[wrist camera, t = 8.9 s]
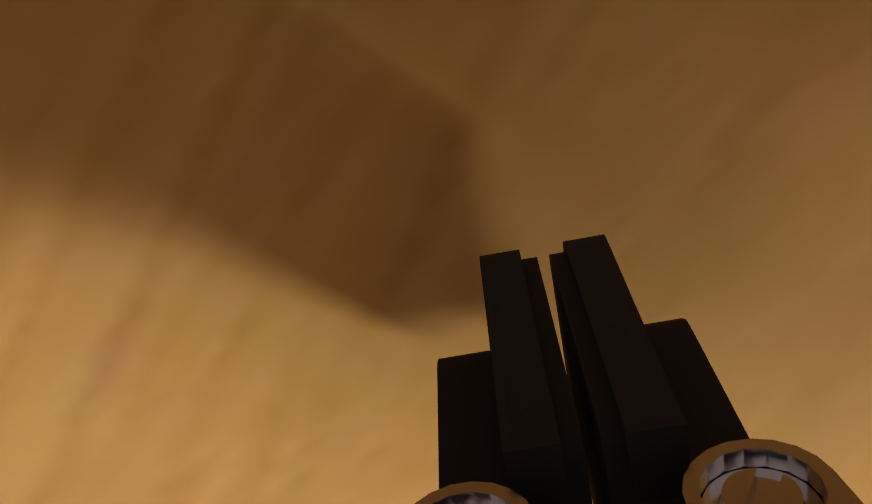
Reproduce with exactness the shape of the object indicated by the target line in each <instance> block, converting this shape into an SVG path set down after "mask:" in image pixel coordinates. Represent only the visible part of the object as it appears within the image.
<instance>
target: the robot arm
mask: <svg viewBox="0 0 872 504" xmlns="http://www.w3.org/2000/svg"><path fill="white" fill-rule="evenodd" d="M563 250H564V252H562V253H557V254H551V255H549V258H550V266H551V273H552V279H553V286H554V292H555V299H556V306H557V312H558V319H559V325H560V332H561V339H562V345H563V352H564V358H565V365H566V370H565V366H564V363H563V359H562V355H561V351H560V347H559V343H558V339H557V335H556V331H555V327H554V323H553V319H552V315H551V311H550V307H549V303H548V299H547V295H546V291H545V287H544V283H543V280H542V276H541V272H540V268H539V264H538V260H537V257H534V258H528V259H523V260H521V256H520V252H519V250H513V251H507V252H502V253H496V254H490V255H485V256H479V257H480V266H481V274H482V283H483V291H484V300H485V308H486V317H487V325H488V334H489V342H490V351H484V352H478V353H472V354H466V355H460V356H454V357H448V358H442V359H439V360H438V364H437V380H438V446H439V490H436V491H433V492H431V493H429V494H428V495H426V496H425V497H423V498H422V499H421V500H419V501H418V502H416V503H415V504H864V503H863V502H862V501H861V500H860V499H859V498H858V497H857V496H856V494H855V493H854V492H853V491H852V490H851V489H850V488H849V487H848V485H847V484H846V483H845V482H844V481H843V480H842V479H841V478H840V476H839V475H838V474H837V473H836V472H835V471H834V470H833V469H832V468H831V467H830V466H828V465H827V464H826V463H825V462H824V461H822V460H821V459H820V458H819V457H818V456H816V455H814V454H812V453H810V452H808V451H806V450H804V449H802V448H800V447H797V446H795V445H791V444H787V443H783V442H779V441H775V440H766V439H749V437H748V435H747V433H746V431H745V429H744V427H743V425H742V423H741V421H740V420H739V418H738V416H737V414H736V412H735V410H734V408H733V406H732V404H731V403H730V401H729V399H728V397H727V395H726V393H725V391H724V389H723V387H722V385H721V384H720V382H719V380H718V378H717V376H716V374H715V372H714V370H713V368H712V367H711V365H710V363H709V361H708V359H707V357H706V355H705V353H704V351H703V349H702V348H701V346H700V344H699V342H698V340H697V338H696V336H695V334H694V332H693V331H692V329H691V327H690V325H689V324H688V322H687V321H686V319H683V318H680V319H675V320H669V321H663V322H657V323H651V324H645V325H644V324H643V322H642V319H641V317H640V315H639V312H638V310H637V308H636V306H635V303H634V301H633V299H632V296H631V294H630V292H629V289H628V287H627V285H626V283H625V280H624V278H623V276H622V273H621V271H620V269H619V266H618V264H617V262H616V260H615V257H614V255H613V253H612V250H611V248H610V246H609V243H608V241H607V239H606V237H605V235H598V236H592V237H587V238H581V239H575V240H570V241H564V242H563ZM566 372H567V374H566ZM592 500H593V503H592Z"/></svg>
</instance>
